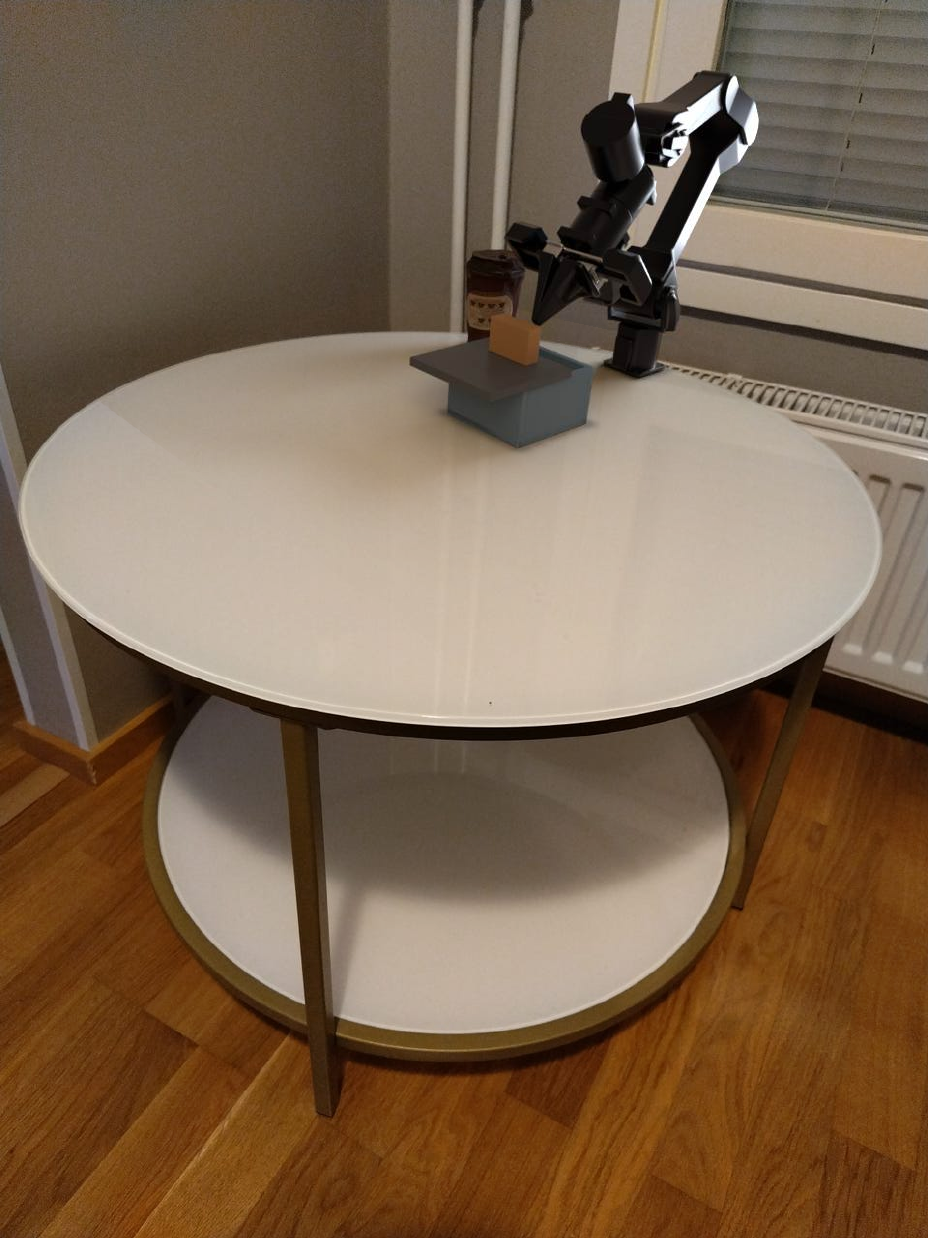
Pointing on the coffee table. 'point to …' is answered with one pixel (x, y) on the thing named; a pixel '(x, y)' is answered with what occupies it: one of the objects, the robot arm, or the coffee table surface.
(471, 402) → the bin
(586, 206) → the robot arm
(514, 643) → the coffee table surface
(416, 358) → the lid
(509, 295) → the coffee cup
